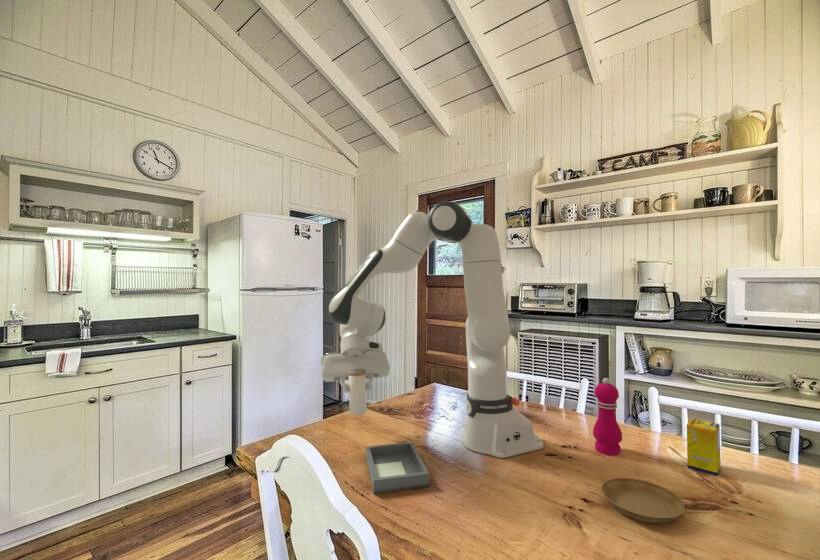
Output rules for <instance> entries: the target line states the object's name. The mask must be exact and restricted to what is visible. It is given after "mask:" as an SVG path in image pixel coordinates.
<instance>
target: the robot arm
mask: <svg viewBox="0 0 820 560" xmlns="http://www.w3.org/2000/svg"><path fill="white" fill-rule="evenodd" d="M435 240H437V241H442V242H446V243H450V244H458V245H459V247H460V249H461V254H462V255H461V256H462V257H461V258H462V271H463V285H464V287H463V289H464V294H465V295H464V296H465V302H466V303H465V304H466V311H467V318H466V321H465V341H466V343H465V344H466V358H467V359H466V361H467V388H468V390H467V391H468V392H467V394H466V414H467V420H466V421H467V423H466V428H465V429H466V430H465V434H464V438H463V444H464V446H465V447H466V448H467V449H469V450H471V451H473V452H476V453H479V454H483V455H489V456H492V457H496V458H499V459H505V458H509V457H513V456H517V455H520V454H526V453H529V452H534V451H537V450H541V449H544V441H543V440H542V439H541V438H540V437H539V435H537V434H535V430H534V426H533V423H532V422H531V421H530V419H529V418H527V417H526V416H525V415H523V414H522V413H521V412H519V410H517V409H516V408H515V407H519V405H520V404H521V401H520V399H519V398H517V397H513V396H511V395H509V394H508V380H507V378H508V377H507V375H508V374H507V372H508V371H507V370H508V369H507V364H506V358H505V351H504V350H505V349H504V347H505V346H506V345H507V344H508V342H509V339H510V336H511V329H510V322H509V315H508V307H507V302H506V297H505V291H504V281H503V270H502V269H503V267H502V255H501V254H502V253H501V248H500V242H499V238H498V235H497V231H496V230H495V228H494V227H493V226H491V225H490V224H485V223H477V224H476V223H473V221H472V218H471V217H470V215H469V214H468V212H467V211H466V210H465V208H463V207H462V206H461V205H460V204H458V203H456V202H455V201H450V200H444V201H440V202H437V203H435V205H433V207H432V208H431V209H430V210H429V213H428V214H427V213H425V212H423V211H418V210H417V211H411V212H410V213H409V214H408V215H407V216H406V217H405V218H404V220H403V221H402V222H401V223H400V225H399V226H398V227H397V229H396V231H395V232H394V233H393V235H392V237H391V239H390V240H389V242H388V243H387V244H386V245H384V246H383V247H382V248H380V249H375V250H373V251H372V252H371V253H370V254H369V255H368V256H367V257H366V258H365V259H364V260H363V262H362V263H361V264H360V265H359V266H358V268H357V269H356V270H355V272H354V273H353V275H352V276H351V277H350V278H349V280H348V281H347V282H346V283H345V284H344V286H343V287H342V288H341V289H340V290H339V291H337V293H335V294H334V295H333V297H332V298H331V300H330V302H329V304H328V307H327V308H328V310H327V311H328V313H329V316H330V319H331V320H332V321H333V323H334V324H337V325H338V324H339V336H340V343H339V346H340V348H339V349H340V351H337V352H336V351H335V352H326V353H325V354H323V355H322V356H321V358H320V364H321V365H322V369H321V370H322V371H321V372H322V373H321V375H322V376H321V377H322V380H323V381H324V382H326V383H330V382H339V384H340V386H341V387H342V388H343V393H344V394H347V393H348V394H349V384H347V383H346V382H345V381H349V375H348V371H350V370H355V369H364V370H366V380H368V382H366V392H371V391H372V384H373V382H374V379H377V378H378V379H379V378H387V377H388V376H389V375H390V371H391V369H390V363H389V360H388V356H387V354H386V352H384V350H383V344H382V343H381V342H375V341H372V340H368V338H369V337H370V338H371V337H372V336H373V335H375V334H377V332H380V331H381V330H382V329H383V327H384V326H385V324H386V311H385V308H384V306H383V305H381V304H380V303H378V302H374V301H372V300H369V299H366V298H364V297H361V296H359V295H360V293H362V291H363V290H364V289H365V287H366V286H367V285H368V283H369V282H371V280H372V279H373V278H374V277H376V276H378V275H382V274H390V273H391V274H404V273H407V272H410V271H412V270H414V269H415V268H416V267H417V266H418V264H419V263H420V262H421V260H422V259H423V256H424V255H425V253H426V251H427V250H428V248H429V246H430V245H431V244H432V243H433V242H434V241H435ZM513 405H514V406H515V407H514V406H513Z"/></svg>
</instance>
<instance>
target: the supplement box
mask: <svg viewBox="0 0 820 560" xmlns="http://www.w3.org/2000/svg"><path fill="white" fill-rule="evenodd" d="M720 426H721V425H720V423H717V422H713V421H712V422H711V421H708V420H707V421H706V420H701V419H697V418H696V419H695V418H690V419H689V421H688V422H687V423H686V448H687V449H686V452H687V454H686V455H687V468H688V469H691V470H694V471H697V472H702V473H706V474H709V475H711V476H712V475H713V476H716V477H717V476H718V475H719V473H720V470H721V467H722V466H721V437H720V435H721V429H720Z"/></svg>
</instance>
